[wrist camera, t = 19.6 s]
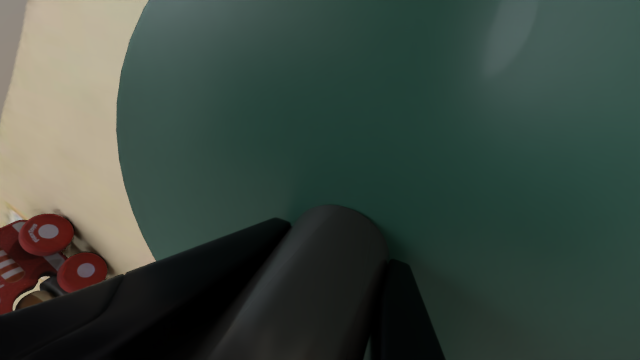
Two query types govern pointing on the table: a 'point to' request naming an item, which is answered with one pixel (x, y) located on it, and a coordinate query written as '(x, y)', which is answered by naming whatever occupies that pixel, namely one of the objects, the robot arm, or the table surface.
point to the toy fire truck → (42, 262)
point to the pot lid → (397, 167)
